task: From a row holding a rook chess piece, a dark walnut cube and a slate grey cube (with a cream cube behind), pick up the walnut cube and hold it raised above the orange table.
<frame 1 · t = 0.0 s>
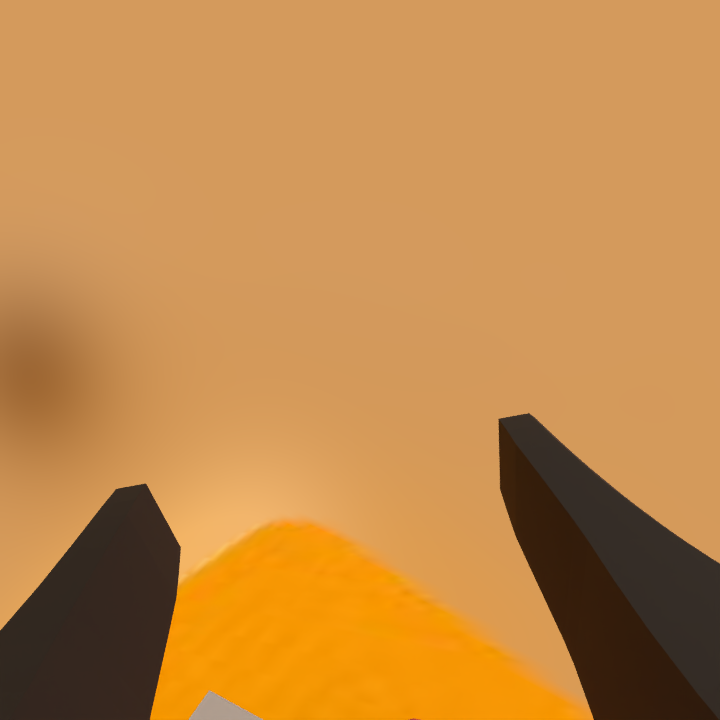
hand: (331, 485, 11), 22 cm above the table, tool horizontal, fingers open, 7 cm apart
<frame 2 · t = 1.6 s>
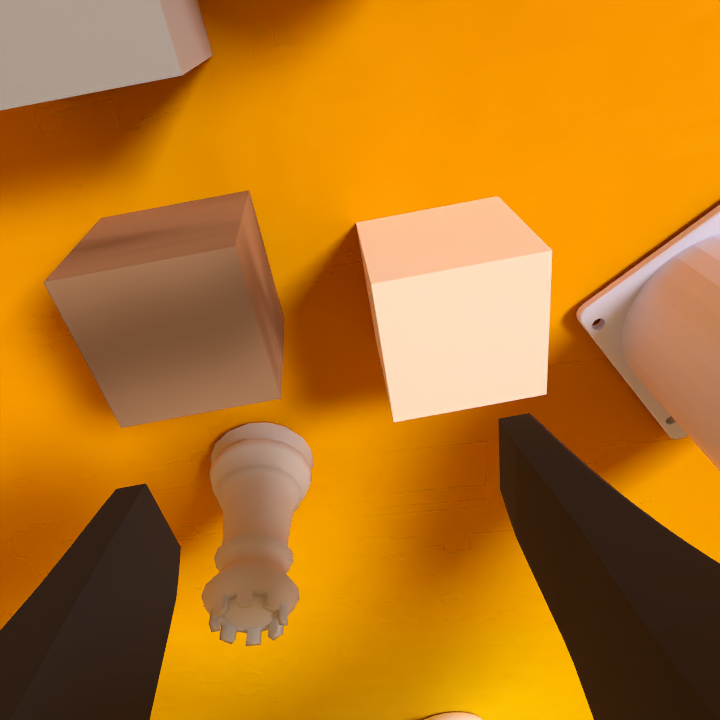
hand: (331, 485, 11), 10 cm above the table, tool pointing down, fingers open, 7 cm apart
rook chess piece: (263, 451, 25), on the table
cream cube: (432, 273, 20), on the table
walnut cube: (199, 271, 20), on the table
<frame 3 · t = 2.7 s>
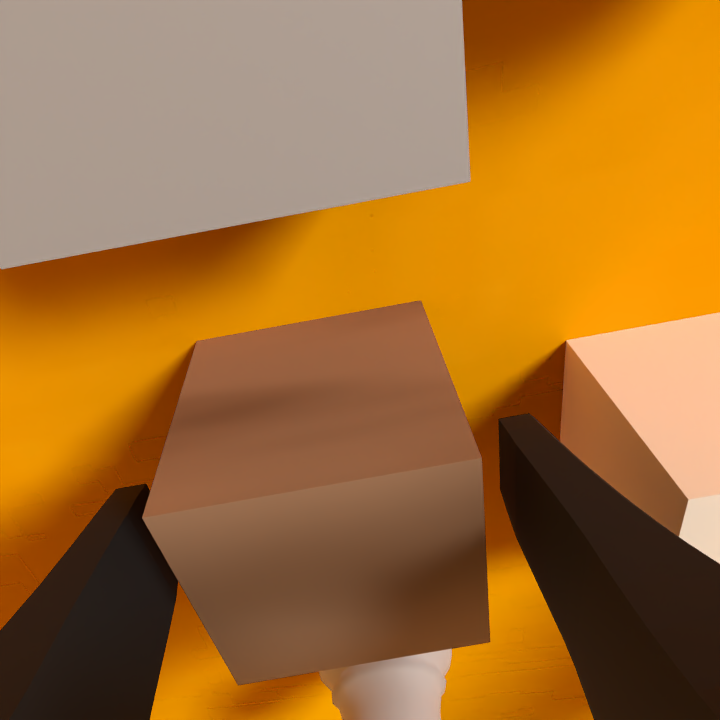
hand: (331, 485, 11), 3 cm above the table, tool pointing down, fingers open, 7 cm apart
rook chess piece: (378, 608, 19), on the table
cream cube: (654, 401, 14), on the table
walnut cube: (329, 406, 13), on the table
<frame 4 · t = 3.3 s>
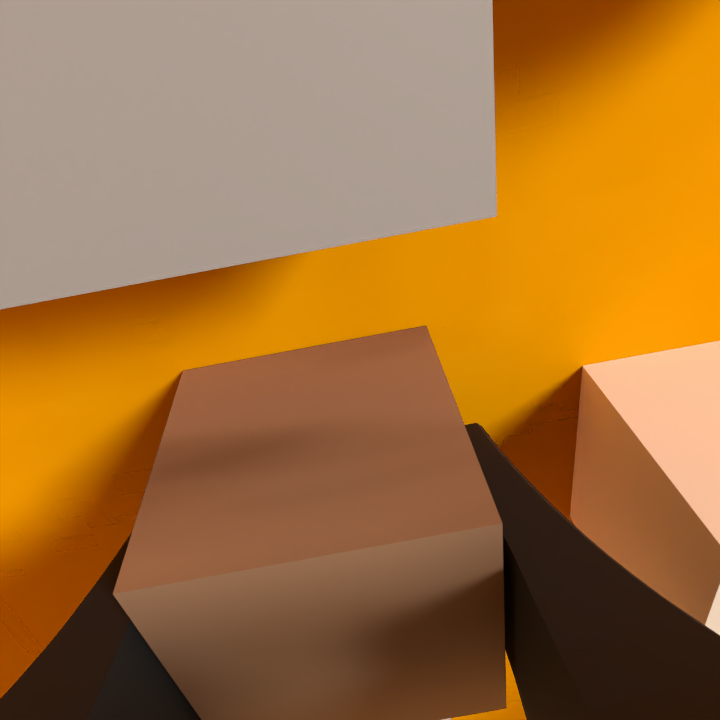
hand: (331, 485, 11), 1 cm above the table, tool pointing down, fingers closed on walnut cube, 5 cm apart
cream cube: (675, 428, 13), on the table
walnut cube: (327, 439, 12), on the table, touching gripper
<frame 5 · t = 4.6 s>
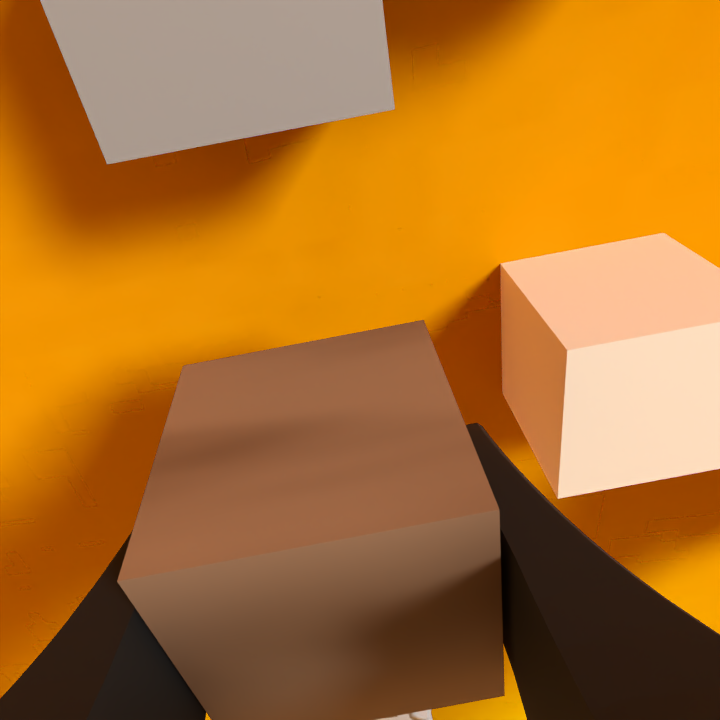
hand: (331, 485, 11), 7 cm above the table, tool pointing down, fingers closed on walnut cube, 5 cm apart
rook chess piece: (360, 507, 22), on the table
cream cube: (575, 318, 18), on the table
walnut cube: (326, 433, 13), point 5 cm above the table, touching gripper
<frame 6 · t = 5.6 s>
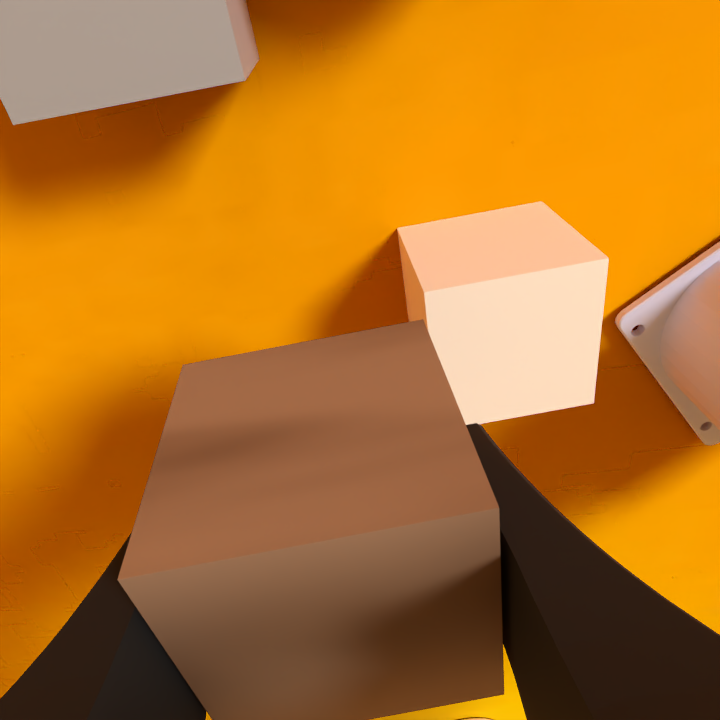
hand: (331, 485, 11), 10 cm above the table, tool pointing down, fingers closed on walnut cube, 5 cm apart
cream cube: (471, 279, 20), on the table
walnut cube: (326, 432, 13), point 8 cm above the table, touching gripper
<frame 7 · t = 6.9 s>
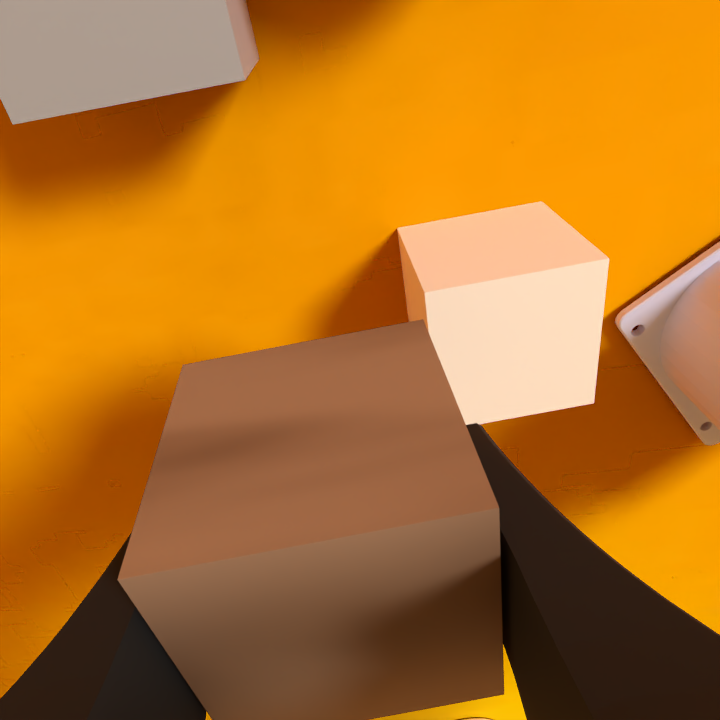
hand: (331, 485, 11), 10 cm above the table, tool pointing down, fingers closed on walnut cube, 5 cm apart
cream cube: (471, 279, 20), on the table
walnut cube: (326, 432, 13), point 8 cm above the table, touching gripper
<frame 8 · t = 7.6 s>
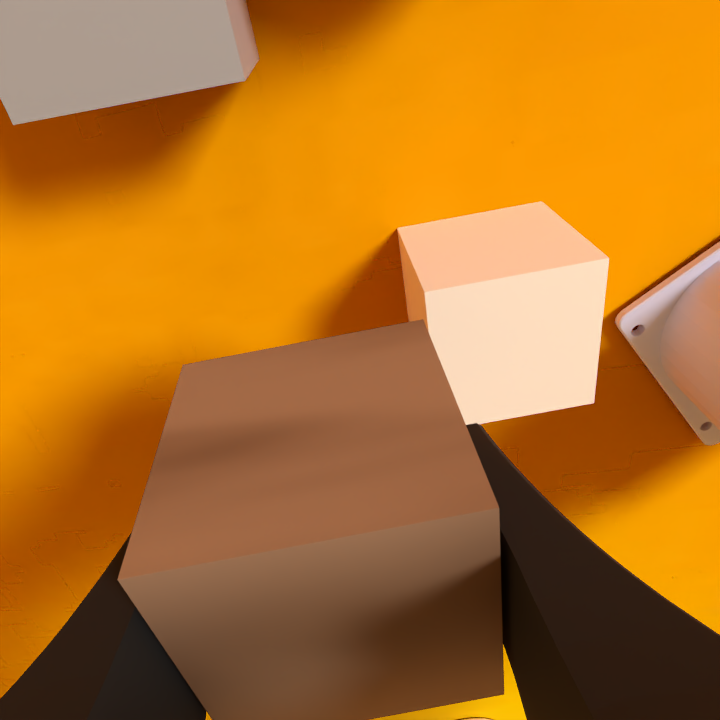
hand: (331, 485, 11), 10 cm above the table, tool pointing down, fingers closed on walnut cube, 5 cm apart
cream cube: (471, 279, 20), on the table
walnut cube: (326, 432, 13), point 8 cm above the table, touching gripper
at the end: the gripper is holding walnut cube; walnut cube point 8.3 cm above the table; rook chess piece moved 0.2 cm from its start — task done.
